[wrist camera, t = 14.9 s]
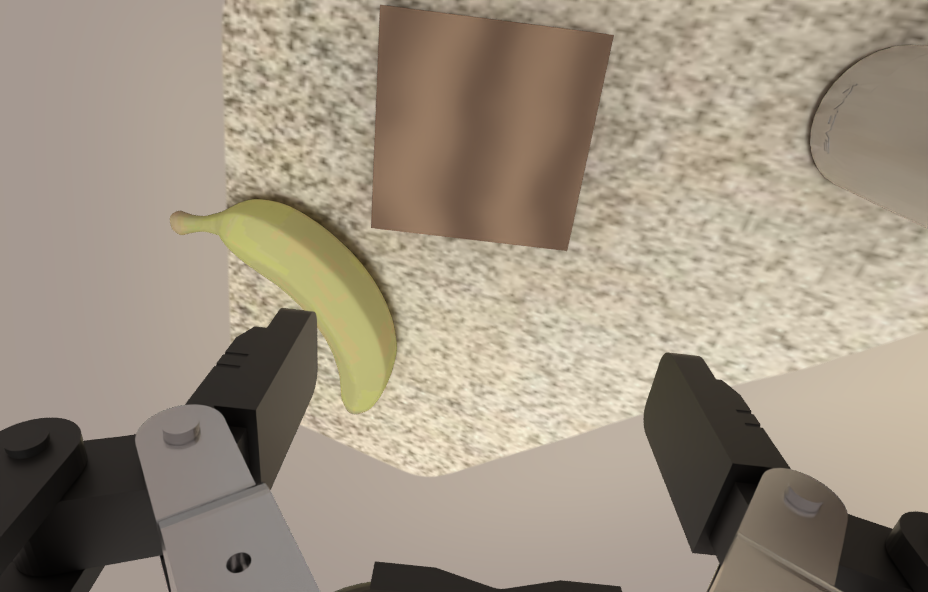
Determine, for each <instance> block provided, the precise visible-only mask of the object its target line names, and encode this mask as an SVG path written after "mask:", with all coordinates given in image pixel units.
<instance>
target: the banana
mask: <svg viewBox="0 0 928 592" xmlns="http://www.w3.org/2000/svg"><path fill="white" fill-rule="evenodd" d="M170 224H171V227H172V229H173V230H174V231H175V232H176V233H177V234H179V235H185V234H189V233H194V232H209V233H213V234H216V235H219V236H220V238H221V240H222V241H223V242H224V244H225V245H226V246H227V247H228V248H229V249H230V250H231V251H232V252H233V253H234V254H235V255H236V256H237V257H238V258H239V259H241V260H242V261H243V262H244V263H246V264H247V265H248V266H250V267H251V268H253V269H254V270H255V271H257V272H258V273H260V274H261V275H263V276H264V277H266V278H267V279H269V280H270V281H272V282H273V283H274V284H276V285H277V286H278V287H280V288H281V289H282V290H283V291H285V292H286V293H287V294H288V295H289V296H290V297H291V298H292V299H293V300H294V301H295V302H296V303H297V304H299V305H300V306H301V307H302V309H303V310H305V311H314V312H315V313H316V316H317V327H318V329H319V330H320V332H321V333H322V335H323V336H324V338H325V339H326V341H327V343H328V345H329V347H330V349H331V351H332V353H333V355H334V358H335V361H336V364H337V367H338V371H339V376H340V385H341V397H342V401H343V403H344V405H345V407H346V409H347V411H348V412H349V413H351V414H360V413H363V412H365V411H367V410H369V409H370V408H371V407H372V406H373V405H374V404H375V403H376V402H377V400H378V399H379V398H380V396H381V394H382V393H383V391H384V389H385V387H386V385H387V382H388V380H389V378H390V375H391V372H392V369H393V365H394V361H395V357H396V351H397V343H396V335H395V329H394V324H393V321H392V317H391V314H390V311H389V309H388V306H387V304H386V302H385V300H384V298H383V296H382V294H381V292H380V290H379V288H378V287H377V285H376V283H375V282H374V280H373V279H372V277H371V276H370V274H369V273H368V271H367V270H366V269H365V267H364V266H363V265H362V264H361V262H360V261H359V260H358V259H357V258H356V257H355V255H354V254H353V253H352V252H351V251H350V250H349V249H348V248H347V247H346V246H345V245H343V244H342V243H341V242H340V241H339V240H338V239H337V238H336V237H335V236H334V235H332V234H331V233H330V232H329V231H328V230H326V229H325V228H324V227H322V226H321V225H320V224H318V223H317V222H315V221H314V220H312V219H311V218H309V217H308V216H306V215H305V214H303V213H301V212H299V211H298V210H296V209H294V208H292V207H290V206H287V205H285V204H282V203H278V202H274V201H269V200H261V199H253V200H247V201H244V202H241V203H238V204H236V205H234V206H232V207H230V208H228V209H226V210H225V211H222V212H219V213H216V214H212V215H208V216H196V215H191V214H188V213H185V212H183V211H177V212H175V213H173V214H172V215H171V216H170Z"/></svg>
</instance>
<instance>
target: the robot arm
mask: <svg viewBox="0 0 928 592" xmlns="http://www.w3.org/2000/svg"><path fill="white" fill-rule="evenodd" d="M810 145H811V152H812V157H813V159H814V162H815V164H816V166H817V168H818V170H819V171H820V172H821V173H822V174H823V176H824V177H825V178H827V179H828V180H829V181H831V182H832V183H834V184H835V185H837V186H839V187H841V188H844V189H846V190H848V191H850V192H852V193H854V194H856V195H858V196H860V197H863V198H865V199H867V200H869V201H870V202H872V203H874V204H877V205H879V206H881V207H883V208H885V209H887V210H889V211H891V212H893V213H896V214H898V215H900V216H902V217H904V218H906V219H908V220H910V221H912V222H915V223H917V224H919V225H921V226H923V227H925V228H927V229H928V46H924V45H902V46H894V47H890V48H887V49H884V50H880V51H877V52H875V53H873V54H871V55H869V56H867V57H865V58H863V59H862V60H860V61H859V62H857V63H856V64H855V65H853V66H852V67H851V68H849V69H848V70H847V71H846V72H845V73H844V74H843V75H842V76H841V77H840V78H839V79H838V80H837V81H836V82H835V83H834V84H833V85H832V86H831V88H830V89H829V91H828V92H827V93H826V95H825V96H824V97H823V99H822V101H821V103H820V105H819V107H818V109H817V111H816V114H815V117H814V121H813V124H812V128H811V138H810ZM317 368H318V364H317V316H316V313H315V312H314V311H305V310H296V309H288V308H281V309H280V310H279V311H278V313H277V314H276V316H275V317H274V319H273V320H272V321H271V323H270V324H269V326H268V327H267V328H263V327H253V328H251V329H250V330H248V331H246V332H245V333H243V334H241V335H240V336H238V337H236V338H235V340H234V341H233V342H232V344H231V345H230V346H229V348H228V349H227V350H226V352H225V355H222V357H221V358H220V359H219V361H218V362H217V365H216V366H214V367H213V369H212V370H211V371H210V373H209V374H208V375H207V376H206V378H205V379H204V381H203V382H202V383H201V384H200V386H199V387H198V388H197V390H196V391H195V392H194V394H193V395H192V396H191V398H190V399H189V400H188V401H187V403H186V404H185V405H181V406H177V407H172V408H169V409H166V410H164V411H161V412H159V413H157V414H155V415H154V416H152V417H151V418H149V419H148V420H147V421H145V422H144V423H143V424H142V425H141V427H140V428H139V429H138V431H137V433H136V434H134V435H129V436H122V437H113V438H104V439H95V440H87V441H83V438H82V434H81V430H80V428H79V427H78V426H77V425H76V424H75V423H74V422H72V421H70V420H66V419H62V418H39V419H33V420H29V421H25V422H22V423H19V424H16V425H13V426H11V427H8V428H6V429H4V430H2V431H0V592H89V591H90V589H91V588H92V586H93V584H94V583H95V581H96V579H97V578H98V576H99V574H100V573H101V571H102V570H103V568H104V566H105V565H110V564H116V563H121V562H127V561H132V560H138V559H143V558H149V557H154V556H159V559H160V563H161V567H162V571H163V575H164V579H165V583H166V587H167V591H168V592H320V590H319V588H318V586H317V584H316V582H315V580H314V578H313V576H312V574H311V572H310V570H309V568H308V566H307V564H306V562H305V560H304V557H303V556H302V553H301V551H300V550H299V547H298V545H297V543H296V542H295V540H294V537H293V535H292V533H291V532H290V529H289V527H288V525H287V523H286V521H285V519H284V517H283V515H282V513H281V511H280V509H279V507H278V505H277V503H276V501H275V499H274V497H273V495H272V493H271V491H270V490H271V488H272V486H273V483H274V481H275V479H276V477H277V474H278V472H279V470H280V467H281V465H282V463H283V461H284V458H285V456H286V454H287V452H288V449H289V447H290V445H291V442H292V440H293V438H294V436H295V434H296V432H297V429H298V427H299V425H300V423H301V420H302V418H303V416H304V414H305V411H306V409H307V407H308V405H309V402H310V400H311V398H312V395H313V393H314V389H315V385H316V379H317ZM644 429H645V433H646V436H647V438H648V441H649V444H650V446H651V449H652V451H653V454H654V456H655V459H656V461H657V464H658V466H659V469H660V471H661V474H662V477H663V479H664V482H665V484H666V487H667V489H668V492H669V494H670V497H671V500H672V502H673V504H674V507H675V510H676V512H677V515H678V517H679V520H680V522H681V525H682V528H683V530H684V533H685V535H686V538H687V540H688V543H689V545H690V548H691V551H692V553H699V554H708V555H716V556H717V559H718V561H719V565H718V567H717V569H716V571H715V573H714V575H713V578H712V580H711V582H710V584H709V587H708V589H707V591H706V592H928V513H924V512H908V513H905V514H903V515H902V516H901V518H900V519H899V521H898V522H897V524H896V525H895V527H894V528H893V529H891V528H888V527H885V526H882V525H879V524H876V523H873V522H870V521H867V520H864V519H861V518H858V517H855V516H852V515H850V514H848V513H847V510H846V508H845V505H844V504H843V502H842V501H841V500H840V498H839V497H838V496H837V495H836V494H835V493H834V492H833V491H832V490H831V489H829V488H828V487H827V486H825V485H824V484H823V483H821V482H819V481H818V480H816V479H814V478H812V477H811V476H808V475H806V474H804V473H801V472H798V471H795V470H791V469H790V467H789V466H788V464H787V463H786V461H785V460H784V458H783V457H782V455H781V454H780V452H779V451H778V449H777V448H776V447H775V445H774V444H773V442H772V441H771V439H770V438H769V436H768V435H767V433H766V432H765V430H764V429H763V428H760V423H759V422H758V420H757V419H756V417H755V416H754V415H753V414H751V410H750V408H749V407H748V406H747V404H746V403H745V402H744V400H743V398H742V397H741V395H740V394H738V393H737V392H736V391H735V390H733V389H732V388H731V387H730V386H729V385H727V384H726V383H725V382H724V381H722V380H717V379H716V378H715V377H714V375H713V374H712V372H711V371H710V369H709V368H708V366H707V364H706V363H705V361H704V360H703V359H702V358H701V357H700V356H694V355H685V354H676V353H665V354H664V355H663V356H662V358H661V360H660V363H659V366H658V369H657V372H656V375H655V378H654V381H653V384H652V387H651V390H650V393H649V396H648V399H647V402H646V405H645V410H644ZM335 592H622V590H621V587H620V586H610V585H600V584H591V583H581V582H571V581H561V580H560V581H554V582H547V583H541V584H534V585H527V586H521V587H514V588H508V589H496V588H492V587H489V586H487V585H484V584H481V583H478V582H475V581H472V580H469V579H467V578H464V577H461V576H458V575H455V574H452V573H449V572H447V571H444V570H441V569H438V568H434V567H423V566H413V565H404V564H395V563H385V562H375V564H374V569H373V574H372V579H371V582H367V583H360V584H356V585H353V586H349V587H345V588H343V589H340V590H338V591H335Z"/></svg>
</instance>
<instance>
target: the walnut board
mask: <svg viewBox="0 0 928 592" xmlns="http://www.w3.org/2000/svg"><path fill="white" fill-rule="evenodd" d="M613 37H614V35H609V34H602V33H594V32H587V31H579V30H571V29H563V28H556V27H548V26H540V25H532V24H525V23H517V22H509V21H502V20H494V19H486V18H478V17H471V16H463V15H455V14H447V13H440V12H432V11H424V10H417V9H409V8H401V7H393V6H386V5H380V21H379V46H378V70H377V95H376V120H375V145H374V170H373V195H372V219H371V228H376V229H385V230H394V231H402V232H411V233H419V234H428V235H436V236H445V237H453V238H462V239H470V240H479V241H488V242H496V243H505V244H513V245H522V246H530V247H539V248H547V249H556V250H564V251H567V249H568V244H569V240H570V235H571V230H572V226H573V221H574V217H575V212H576V207H577V203H578V198H579V193H580V189H581V184H582V180H583V175H584V170H585V166H586V161H587V157H588V152H589V147H590V143H591V138H592V133H593V129H594V124H595V120H596V115H597V110H598V106H599V101H600V97H601V92H602V87H603V83H604V78H605V73H606V69H607V64H608V60H609V55H610V50H611V46H612V41H613Z"/></svg>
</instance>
